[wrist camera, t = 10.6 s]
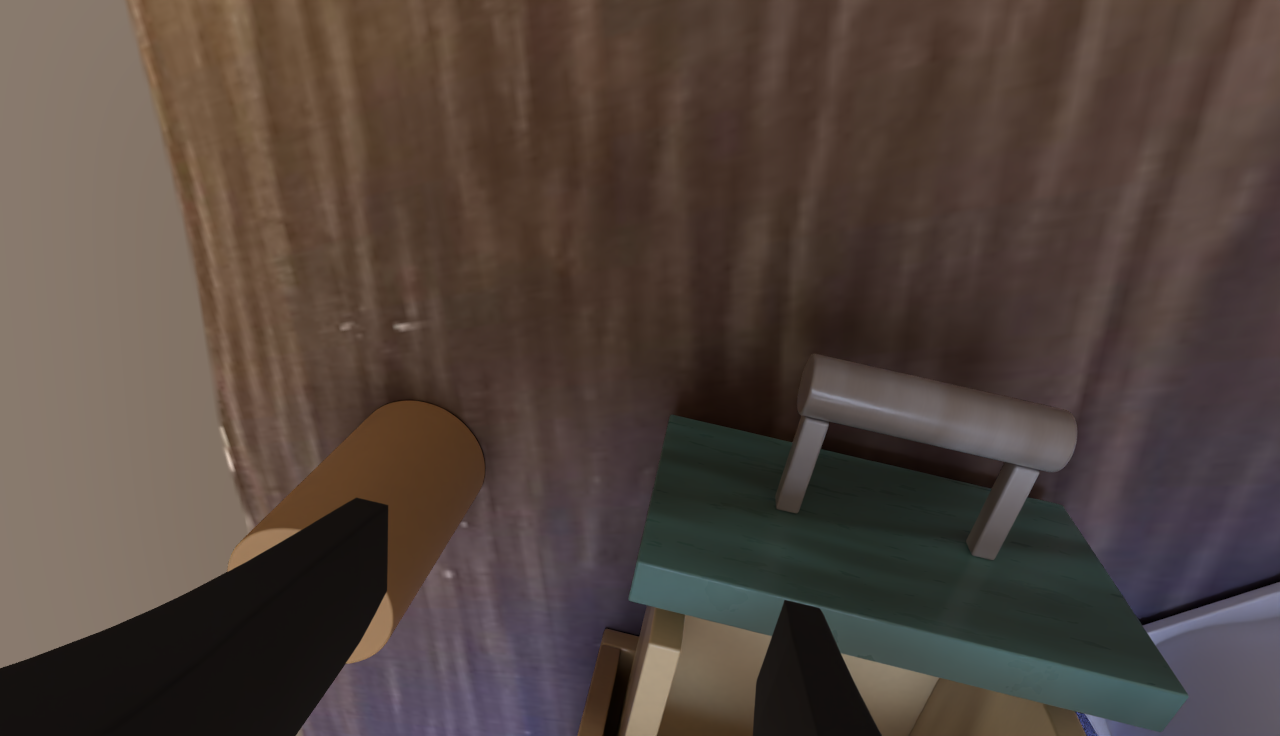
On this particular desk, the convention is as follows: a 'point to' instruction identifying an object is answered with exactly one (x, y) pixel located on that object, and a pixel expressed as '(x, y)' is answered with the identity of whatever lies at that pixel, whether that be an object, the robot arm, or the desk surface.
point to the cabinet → (608, 684)
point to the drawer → (885, 572)
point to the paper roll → (388, 498)
